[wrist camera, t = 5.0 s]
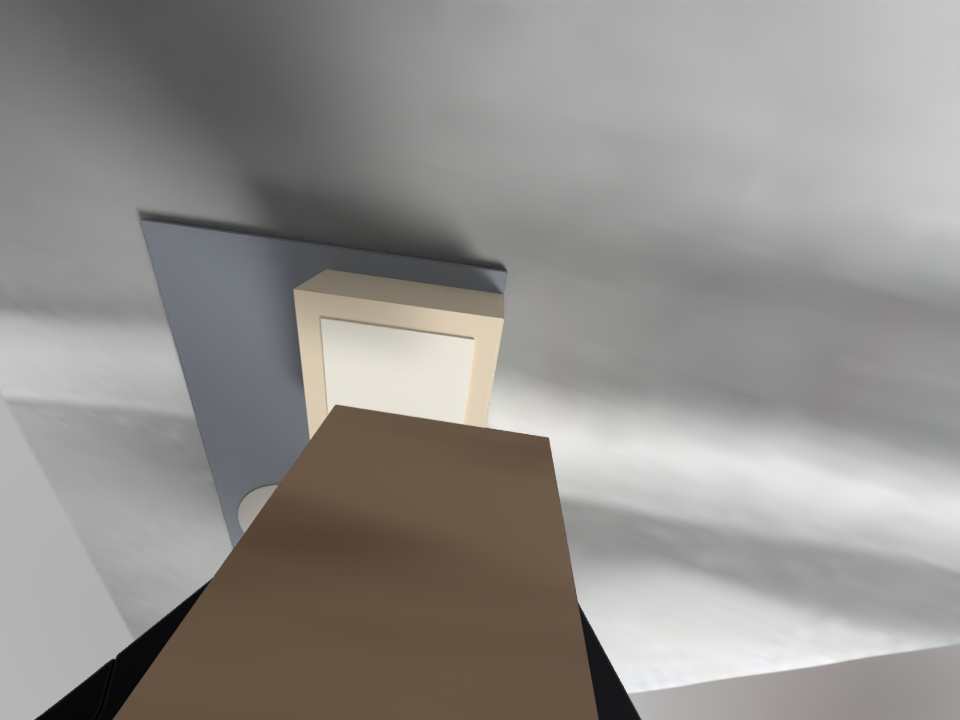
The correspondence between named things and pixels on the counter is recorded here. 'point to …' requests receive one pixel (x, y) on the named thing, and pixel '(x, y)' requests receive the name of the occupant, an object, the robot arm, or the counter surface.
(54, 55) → the counter surface
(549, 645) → the tan block
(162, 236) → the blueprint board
